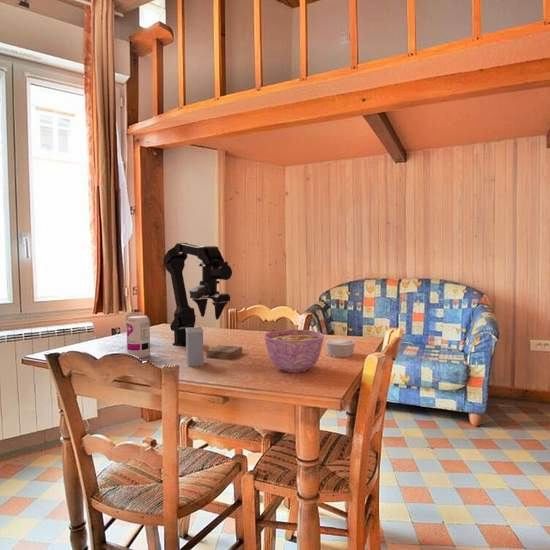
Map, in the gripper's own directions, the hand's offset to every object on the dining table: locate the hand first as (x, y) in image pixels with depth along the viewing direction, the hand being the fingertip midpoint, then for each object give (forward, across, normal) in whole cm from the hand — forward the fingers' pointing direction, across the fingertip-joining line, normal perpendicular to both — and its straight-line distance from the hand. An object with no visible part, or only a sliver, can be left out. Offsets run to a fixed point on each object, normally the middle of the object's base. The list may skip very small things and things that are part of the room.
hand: (209, 318), depth 176 cm
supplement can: (+14, -13, -24) cm, 30 cm away
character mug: (+14, -36, -13) cm, 41 cm away
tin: (+13, +12, -16) cm, 24 cm away
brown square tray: (+14, +10, 0) cm, 17 cm away
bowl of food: (+13, +42, +3) cm, 44 cm away
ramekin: (+13, +41, +30) cm, 52 cm away
